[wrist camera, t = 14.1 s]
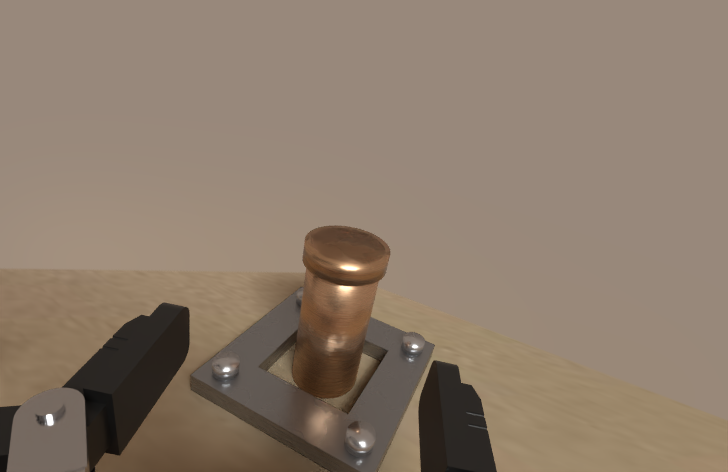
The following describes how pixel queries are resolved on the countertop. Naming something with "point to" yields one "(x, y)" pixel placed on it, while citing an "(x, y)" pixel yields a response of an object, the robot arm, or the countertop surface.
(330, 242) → the pipe stub
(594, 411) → the countertop surface
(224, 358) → the flange
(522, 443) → the countertop surface
